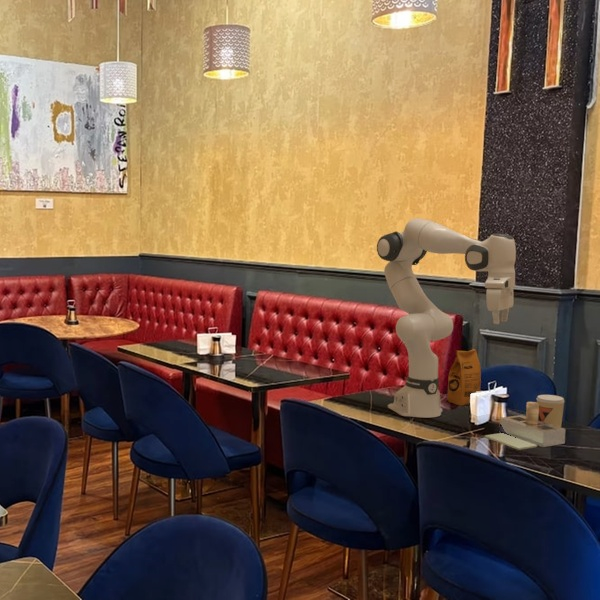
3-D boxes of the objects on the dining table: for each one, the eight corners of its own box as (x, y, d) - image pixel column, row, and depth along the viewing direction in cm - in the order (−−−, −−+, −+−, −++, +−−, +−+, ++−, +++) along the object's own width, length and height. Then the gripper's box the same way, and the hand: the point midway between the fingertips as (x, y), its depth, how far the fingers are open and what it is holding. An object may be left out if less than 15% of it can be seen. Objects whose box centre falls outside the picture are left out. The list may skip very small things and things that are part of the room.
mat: (484, 437, 245) (484, 435, 245) (502, 434, 249) (502, 432, 249) (518, 450, 231) (518, 448, 231) (537, 447, 235) (537, 445, 235)
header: (499, 431, 252) (500, 417, 252) (520, 428, 257) (521, 415, 256) (542, 447, 235) (543, 432, 234) (564, 443, 239) (565, 428, 239)
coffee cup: (529, 428, 258) (531, 395, 257) (550, 426, 261) (552, 393, 260) (547, 435, 249) (548, 401, 248) (568, 433, 252) (570, 399, 251)
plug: (522, 436, 247) (524, 402, 245) (531, 435, 248) (532, 401, 247) (531, 439, 243) (532, 405, 242) (539, 438, 245) (541, 403, 244)
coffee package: (443, 401, 297) (445, 348, 295) (466, 398, 303) (468, 347, 301) (459, 406, 288) (461, 352, 286) (483, 403, 294) (485, 350, 292)
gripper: (500, 280, 253) (499, 319, 254) (483, 282, 236) (482, 324, 237) (518, 280, 250) (517, 320, 251) (502, 283, 232) (501, 326, 234)
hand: (500, 322), depth 244 cm, fingers open, 8 cm apart
